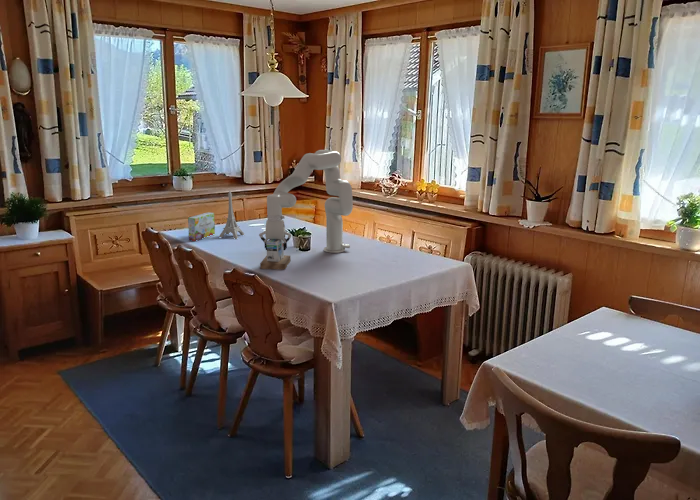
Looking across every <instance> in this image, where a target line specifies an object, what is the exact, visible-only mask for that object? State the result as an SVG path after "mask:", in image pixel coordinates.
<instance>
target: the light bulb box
mask: <svg viewBox="0 0 700 500" xmlns="http://www.w3.org/2000/svg"><path fill="white" fill-rule="evenodd" d="M283 243H284V241H283V240H273V239H268V240H267V242H266V246H267V250H266V256H267V261H272V262H279V261H280V260H281V259H282V258H284V255H285V250H284V247H283Z"/></svg>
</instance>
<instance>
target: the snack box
mask: <svg viewBox="0 0 700 500" xmlns="http://www.w3.org/2000/svg"><path fill="white" fill-rule="evenodd" d="M187 222H188V224H187V225H188V241H189V240H192V241H191V242H197V241H196V240H198V241H200V240H199V239H201V240H203V239H202V238H204V237H207V236H210V235H213V234H215V235H216V229H215V228H216V227H215V212H208V211H207V212H204V213H201V214H197V215H192V216H190V217H189V216H188V218H187ZM213 236H214V235H213ZM210 237H211V236H210ZM207 238H208V237H207ZM204 239H205V238H204Z"/></svg>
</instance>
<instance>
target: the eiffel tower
mask: <svg viewBox="0 0 700 500" xmlns="http://www.w3.org/2000/svg"><path fill="white" fill-rule="evenodd" d="M227 197H228V209H227V211H228V213H227V217H226V222H225V225H224V227H223V228H222V229H223V230H222V231H221V233H220V234H219V236H218V237H223V238H224V235H225V234H229V233H230V234H232V236H233V239H234V238H235V239H234V240H238V239H237V238H239V237H238V233H239V235H244V234H245V233H244V231H243V230H242V229H241V228H240V226H238V223H237V221H236V217H235V215H234V208H233V201H232V200H233V199H232V197H233V194H232V192H231V190H228V194H227ZM230 234H229V235H230ZM244 236H245V235H244Z"/></svg>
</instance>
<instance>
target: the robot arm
mask: <svg viewBox="0 0 700 500" xmlns="http://www.w3.org/2000/svg"><path fill="white" fill-rule="evenodd" d="M341 163H342V155H341V154H340V152H338V151H336V150H327V149H318V150H316V151H315V152H314V153H311V152H309V153H305V154H304V155H303V156H302V157H301V159H300V160H299V162H298V164H297V166H296V167H295V169H294V170H293V172H292V174H290V175H288V176H287V177H286V178H285V179H283V180H282V181H280V182H279V183H278V185H277V187H276V188H275V190H274V192H273V194H268V195H267V197H266V207H267V208H266V209H267V210H266V211H267V220H266V223H265V230H264V231H262V232H260V233H259V234H258V236H259V238H260V240H261V241H263V243H264V249H265V251H267V246H266V242H267V241H268V240H270V239H273V240H283V241H284V243H283V247H284V251H286V250H287V248H288V241H289V240H291V238H292V236H293V235H292V233H290V232H288V231H286V226H285V221H284V219H285V218H286V216H285V215H283V208H292V207H294V206H295V205H296V203H297V197H296V196H295V195H294V194H293V193H289V192H290V191H291V190H292V189H294V188H296V187H299V186H301V185H304V184H305V183H306V182H307V181H308V179H309V177H310V176H311V174H312V173H313V171H314V170H317V171H324V176H325V177H324V178H325V191H326V193H327V194H328V195H329V196H331V197H329V198H327V199H326V200H325V202H324V211H325V218H326V220H325V221H326V226H325V227H326V229H325V231H326V243H325V244H326V247H324V248H323V251H324V252H326V253H331V254H338V253H344V252H345V251H346V249H350V248H351V245H350V244H348V243H347V244H346V243H345V244H344V241H343V239H344V238H343V234H344V231H343V227H344V226H343V224H344V223H343V217H346V216H349V215H351V214H352V212H353V208H354V206H353V205H354V204H353V202H354V201H353V199H354V198H353V189H352V188H353V187H352V185H351V183H350V182H349V181H348V180H344V179H341V171H340V168H339V165H340V164H341ZM342 216H343V217H342ZM264 235H265V236H264ZM286 236H287V238H286Z"/></svg>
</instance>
